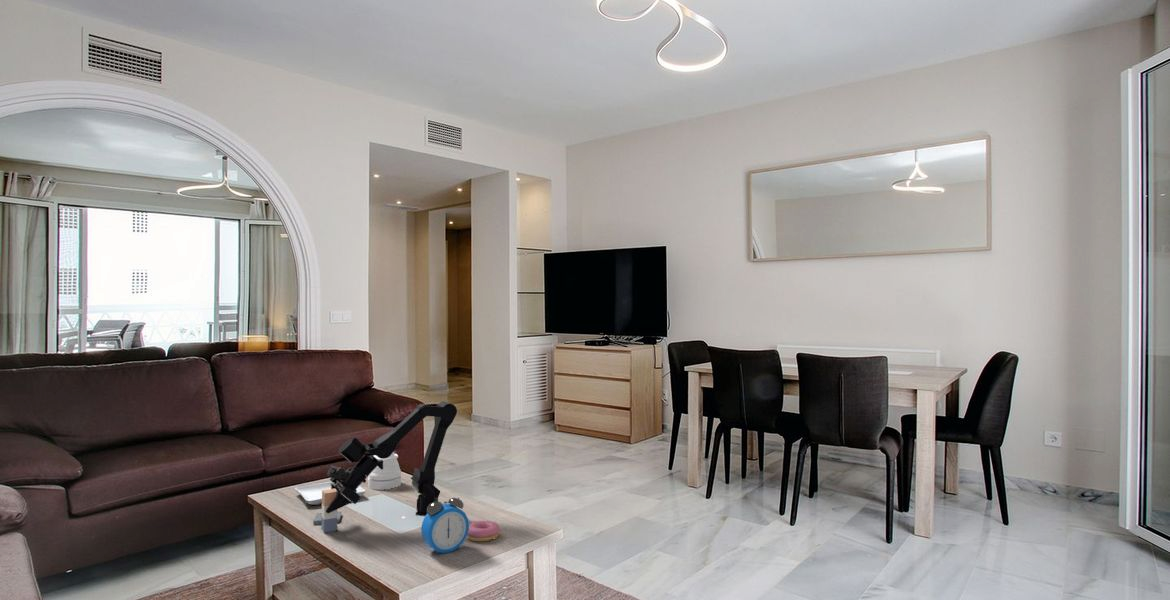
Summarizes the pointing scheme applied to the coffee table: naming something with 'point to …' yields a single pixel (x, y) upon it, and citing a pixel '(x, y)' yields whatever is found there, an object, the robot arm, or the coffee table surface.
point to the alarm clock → (445, 525)
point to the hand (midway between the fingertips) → (325, 510)
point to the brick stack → (328, 518)
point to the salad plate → (318, 492)
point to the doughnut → (483, 531)
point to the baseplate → (319, 518)
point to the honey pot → (386, 474)
